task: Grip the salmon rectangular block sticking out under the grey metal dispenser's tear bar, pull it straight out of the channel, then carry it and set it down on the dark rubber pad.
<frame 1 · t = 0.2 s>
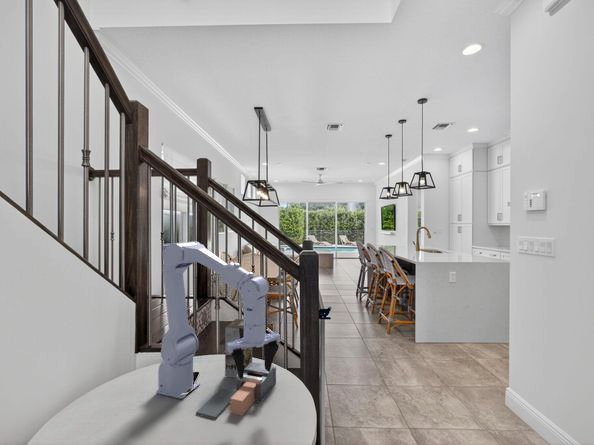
hand: (254, 373, 80), 10 cm above the table, fingers open, 7 cm apart
coffee box: (239, 371, 100), on the table
pad: (219, 403, 83), on the table
salmon rectangular block: (246, 402, 83), on the table
dispenser: (256, 390, 89), on the table
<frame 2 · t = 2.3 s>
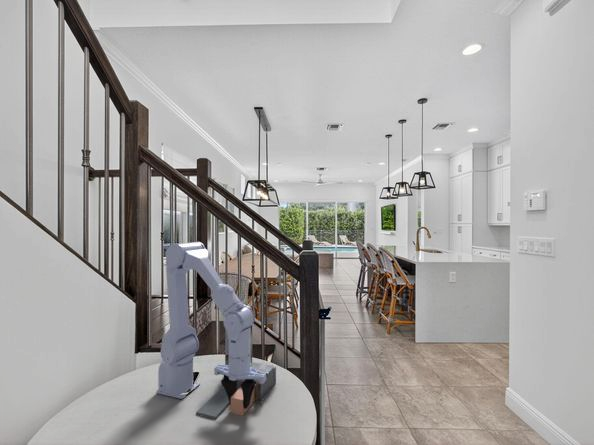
hand: (239, 404, 80), 1 cm above the table, fingers closed on salmon rectangular block, 3 cm apart
salmon rectangular block: (246, 401, 83), on the table, touching gripper
everything else where it was.
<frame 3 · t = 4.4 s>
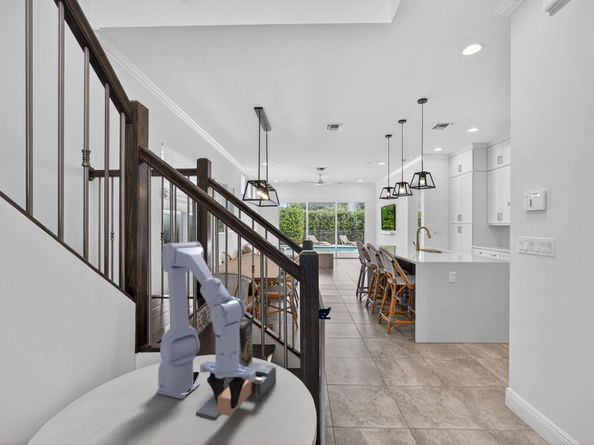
hand: (227, 404, 74), 5 cm above the table, fingers closed on salmon rectangular block, 3 cm apart
salmon rectangular block: (235, 402, 78), point 3 cm above the table, touching gripper
everything else where it was.
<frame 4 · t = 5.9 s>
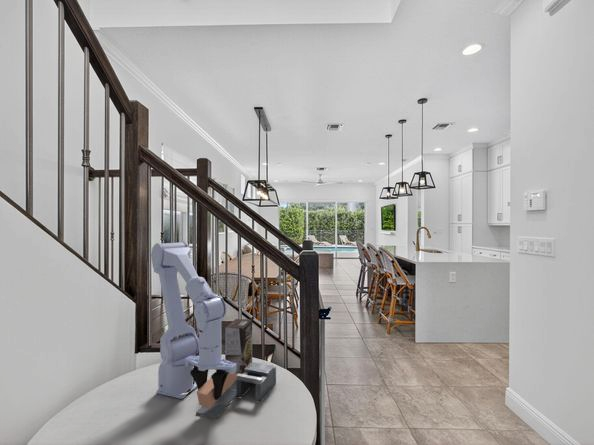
hand: (210, 395, 79), 4 cm above the table, fingers closed on salmon rectangular block, 4 cm apart
salmon rectangular block: (219, 391, 82), point 4 cm above the table, tilted 14°, touching gripper
everything else where it was.
when the fingers open (4 cm above the table, at t = 6.8 s): salmon rectangular block drops 3 cm, resting on pad.
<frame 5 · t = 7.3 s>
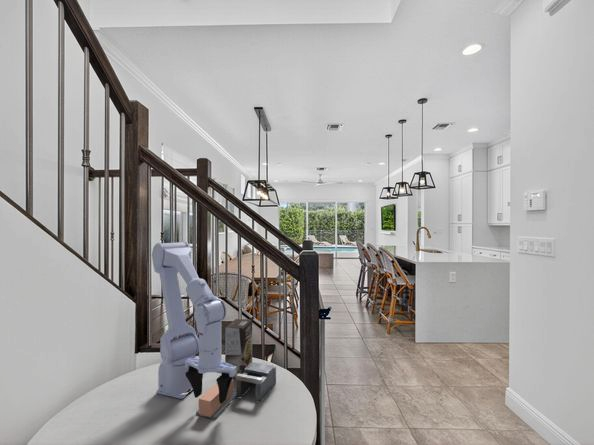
hand: (210, 398, 79), 4 cm above the table, fingers open, 7 cm apart
salmon rectangular block: (217, 403, 82), point 1 cm above the table, touching pad
everything else where it was.
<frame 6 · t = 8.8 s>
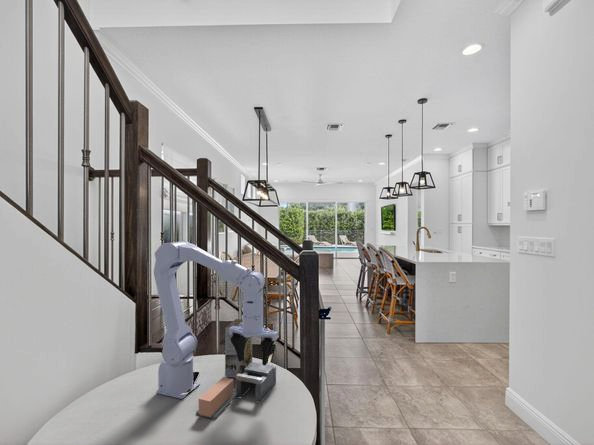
hand: (253, 361, 86), 10 cm above the table, fingers open, 7 cm apart
nothing on the table moved.
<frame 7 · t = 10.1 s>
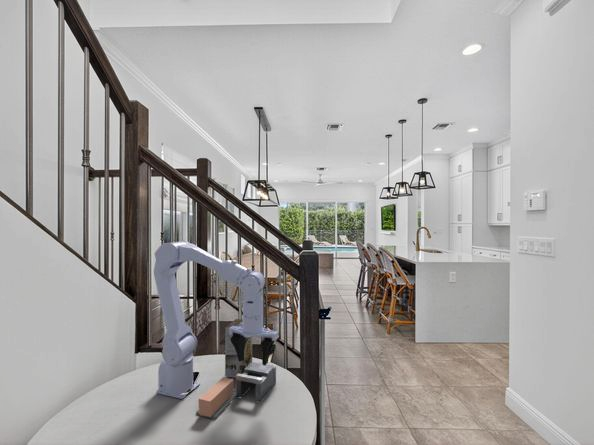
hand: (253, 361, 86), 10 cm above the table, fingers open, 7 cm apart
nothing on the table moved.
at the end: salmon rectangular block inside the target area on the pad (1.0 cm from its centre), point 0.6 cm above the pad's base; salmon rectangular block moved 8.0 cm from its start; the gripper is holding nothing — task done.
